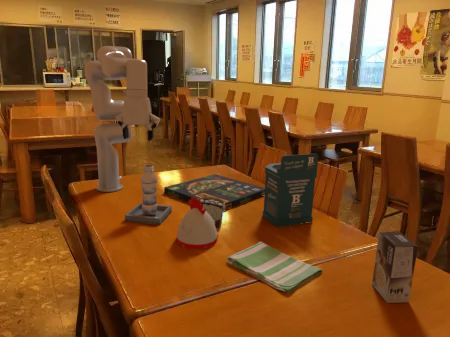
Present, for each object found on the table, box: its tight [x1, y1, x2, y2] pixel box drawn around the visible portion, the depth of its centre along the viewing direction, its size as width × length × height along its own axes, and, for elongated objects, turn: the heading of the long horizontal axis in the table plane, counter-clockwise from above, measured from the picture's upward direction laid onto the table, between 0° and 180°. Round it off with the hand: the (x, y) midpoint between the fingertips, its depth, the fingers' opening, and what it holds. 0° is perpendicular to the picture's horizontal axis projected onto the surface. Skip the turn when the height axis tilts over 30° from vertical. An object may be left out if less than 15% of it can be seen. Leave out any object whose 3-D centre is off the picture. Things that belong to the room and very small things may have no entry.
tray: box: [124, 202, 173, 226], centre depth 149 cm, size 14×14×2 cm
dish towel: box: [226, 241, 323, 294], centre depth 113 cm, size 18×23×3 cm
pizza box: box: [163, 174, 265, 212], centre depth 179 cm, size 35×35×4 cm
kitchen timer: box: [176, 198, 218, 250], centre depth 128 cm, size 14×14×15 cm
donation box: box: [261, 153, 319, 229], centre depth 149 cm, size 16×16×28 cm
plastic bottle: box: [140, 164, 159, 216], centre depth 147 cm, size 6×7×20 cm
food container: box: [197, 197, 225, 230], centre depth 143 cm, size 12×6×10 cm, turn 65°
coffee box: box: [371, 231, 419, 304], centre depth 100 cm, size 9×6×16 cm
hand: (138, 139), depth 143 cm, fingers open, 9 cm apart
